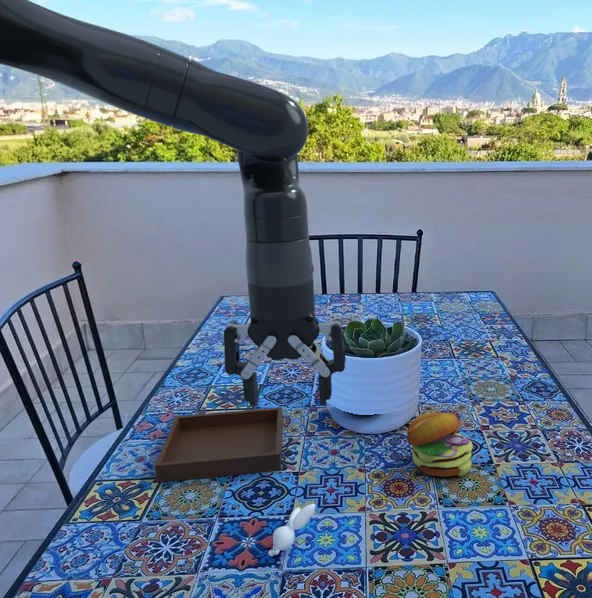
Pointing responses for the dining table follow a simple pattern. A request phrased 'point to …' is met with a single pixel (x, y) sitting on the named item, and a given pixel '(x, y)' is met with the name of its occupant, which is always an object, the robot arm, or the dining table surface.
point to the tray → (222, 445)
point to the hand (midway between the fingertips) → (289, 402)
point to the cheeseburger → (439, 445)
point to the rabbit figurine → (291, 529)
